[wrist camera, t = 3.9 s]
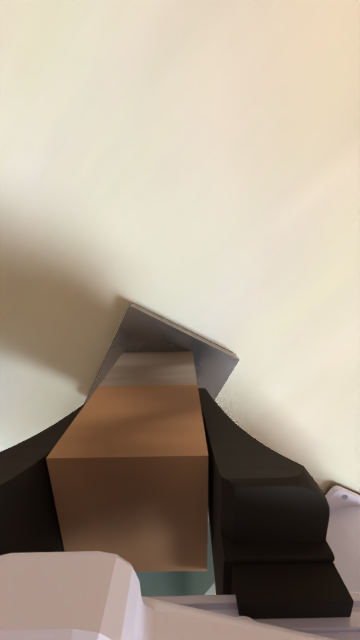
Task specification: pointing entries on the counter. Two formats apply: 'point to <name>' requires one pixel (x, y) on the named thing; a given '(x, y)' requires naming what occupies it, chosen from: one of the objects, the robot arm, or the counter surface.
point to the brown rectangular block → (137, 467)
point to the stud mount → (168, 348)
